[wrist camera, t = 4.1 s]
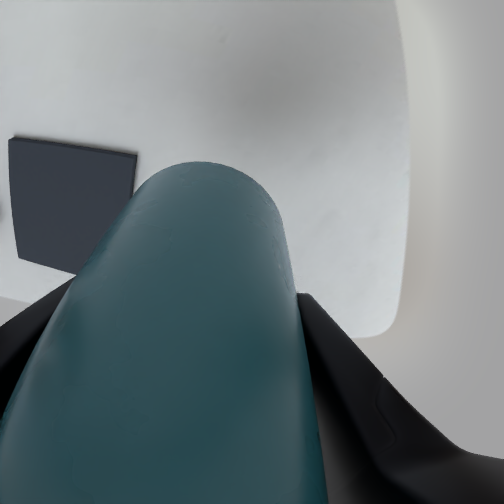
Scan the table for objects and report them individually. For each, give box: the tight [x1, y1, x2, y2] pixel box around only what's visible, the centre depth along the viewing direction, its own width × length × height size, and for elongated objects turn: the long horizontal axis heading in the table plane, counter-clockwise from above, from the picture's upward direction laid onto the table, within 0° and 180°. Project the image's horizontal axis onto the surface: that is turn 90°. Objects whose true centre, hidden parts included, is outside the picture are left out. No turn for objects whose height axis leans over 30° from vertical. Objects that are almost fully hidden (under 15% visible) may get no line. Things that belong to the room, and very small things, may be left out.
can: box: [0, 162, 329, 504], centre depth 7 cm, size 6×6×10 cm
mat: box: [8, 138, 137, 275], centre depth 19 cm, size 10×10×1 cm
